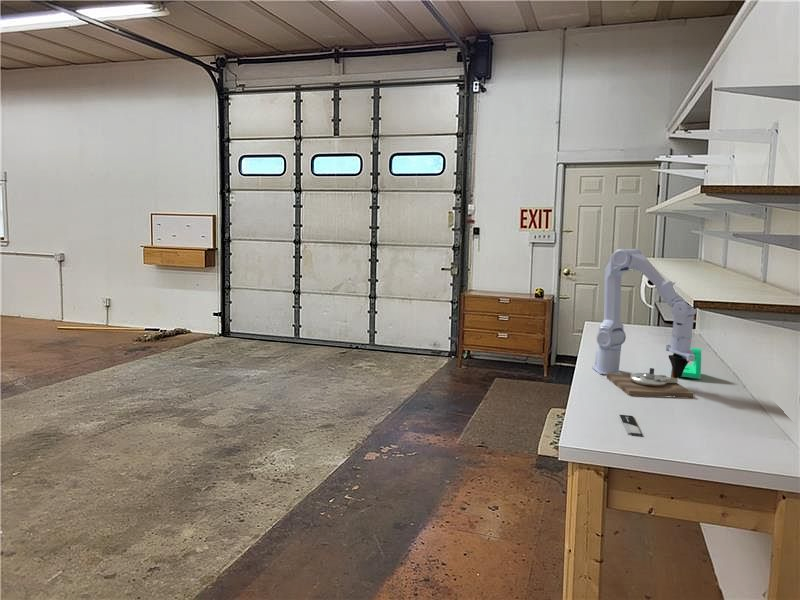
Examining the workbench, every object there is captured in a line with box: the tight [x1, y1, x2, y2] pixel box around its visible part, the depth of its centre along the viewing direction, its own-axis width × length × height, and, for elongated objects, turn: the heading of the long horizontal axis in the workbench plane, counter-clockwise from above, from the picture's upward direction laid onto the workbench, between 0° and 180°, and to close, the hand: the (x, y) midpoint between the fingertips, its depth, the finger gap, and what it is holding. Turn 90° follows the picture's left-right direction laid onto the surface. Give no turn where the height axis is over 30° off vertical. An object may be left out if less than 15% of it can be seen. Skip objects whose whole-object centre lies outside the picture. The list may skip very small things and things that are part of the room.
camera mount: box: [681, 347, 702, 380], centre depth 210 cm, size 12×8×10 cm, turn 160°
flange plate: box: [630, 368, 679, 386], centre depth 193 cm, size 15×11×5 cm
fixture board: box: [605, 373, 694, 399], centre depth 194 cm, size 20×20×2 cm
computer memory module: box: [619, 414, 645, 438], centre depth 157 cm, size 15×1×4 cm
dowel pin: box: [648, 367, 655, 375], centre depth 199 cm, size 1×1×3 cm
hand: (677, 377), depth 192 cm, fingers closed
